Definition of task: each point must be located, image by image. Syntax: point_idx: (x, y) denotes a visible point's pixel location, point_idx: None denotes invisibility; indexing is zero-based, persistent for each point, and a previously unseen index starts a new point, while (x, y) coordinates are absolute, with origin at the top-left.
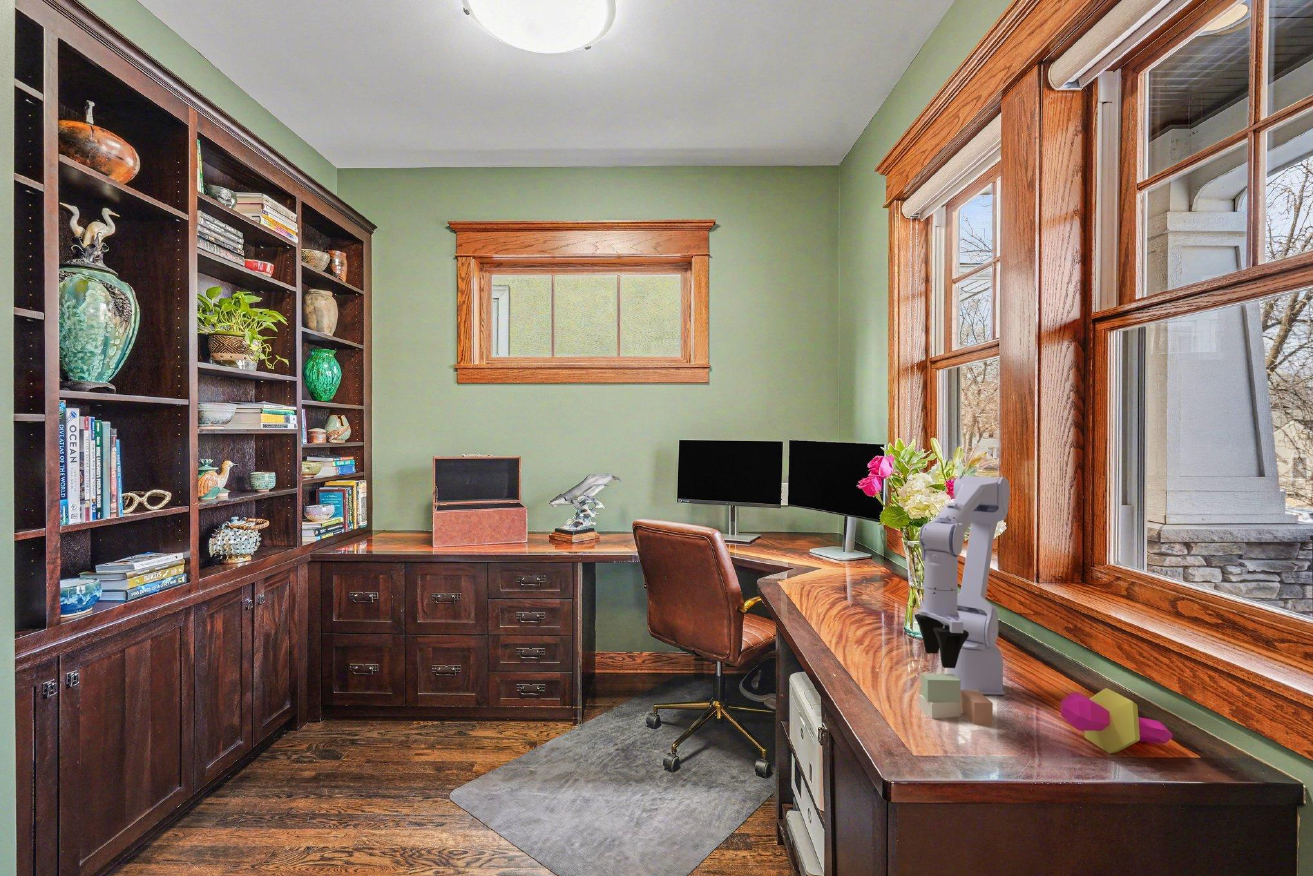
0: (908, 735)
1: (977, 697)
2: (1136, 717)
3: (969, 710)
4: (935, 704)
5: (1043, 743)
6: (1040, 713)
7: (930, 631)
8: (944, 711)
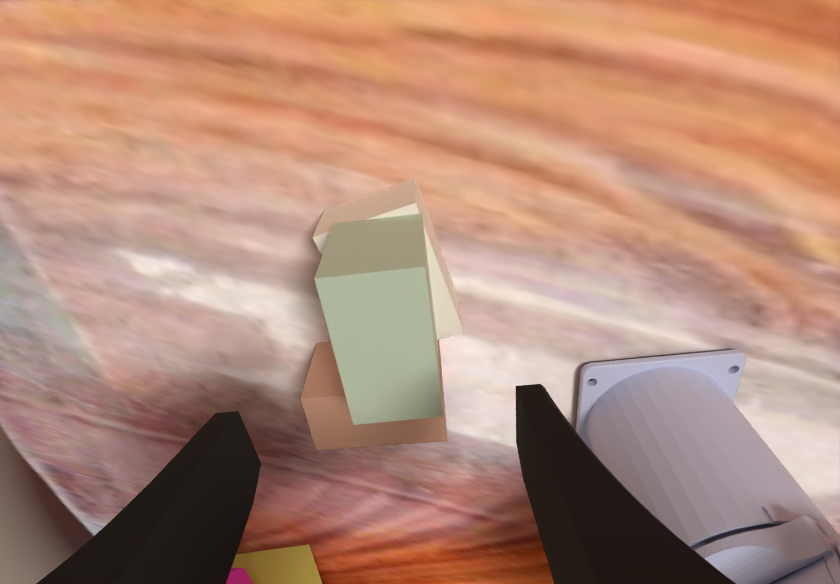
0: (94, 51)
1: None
2: None
3: None
4: (322, 251)
5: None
6: (445, 514)
7: (570, 575)
8: None
